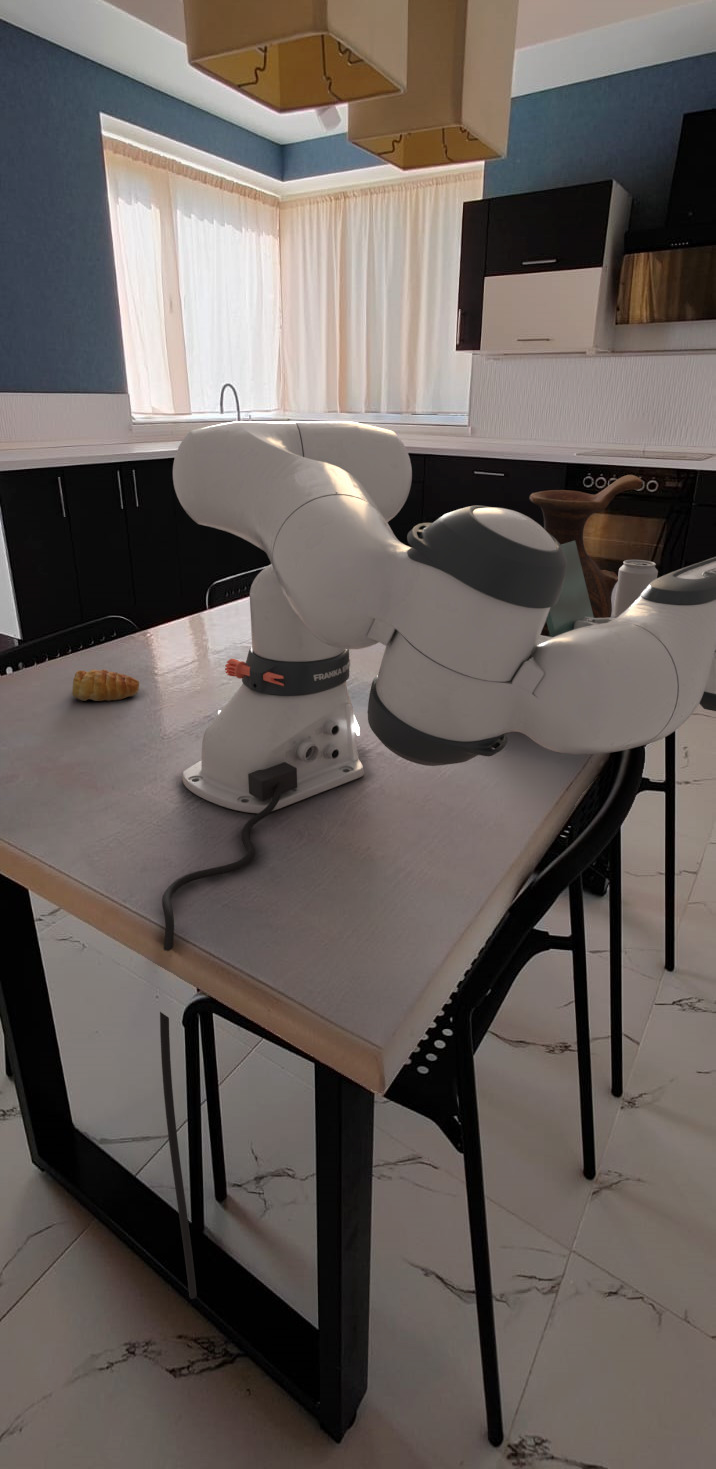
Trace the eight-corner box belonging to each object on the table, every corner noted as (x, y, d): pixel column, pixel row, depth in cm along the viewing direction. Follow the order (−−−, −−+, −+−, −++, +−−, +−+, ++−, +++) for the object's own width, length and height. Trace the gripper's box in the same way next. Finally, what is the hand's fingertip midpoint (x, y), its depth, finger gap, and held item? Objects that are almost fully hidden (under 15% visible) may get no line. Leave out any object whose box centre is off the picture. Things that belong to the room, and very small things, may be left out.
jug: (562, 669, 129) (585, 482, 117) (465, 641, 144) (477, 472, 132) (632, 646, 142) (658, 475, 130) (536, 622, 157) (552, 467, 145)
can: (653, 618, 160) (663, 560, 156) (644, 626, 155) (654, 566, 150) (617, 613, 164) (625, 556, 159) (607, 621, 158) (615, 562, 154)
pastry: (143, 686, 119) (140, 663, 118) (135, 702, 113) (132, 678, 112) (81, 688, 119) (78, 664, 117) (70, 704, 113) (66, 679, 111)
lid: (529, 554, 97) (534, 553, 96) (569, 542, 106) (575, 540, 106) (559, 672, 99) (564, 671, 99) (596, 650, 109) (601, 648, 108)
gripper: (653, 690, 89) (542, 666, 96) (703, 649, 103) (603, 631, 111) (662, 636, 86) (547, 617, 94) (712, 603, 101) (609, 588, 109)
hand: (578, 624), depth 103 cm, fingers closed, pressing on lid
